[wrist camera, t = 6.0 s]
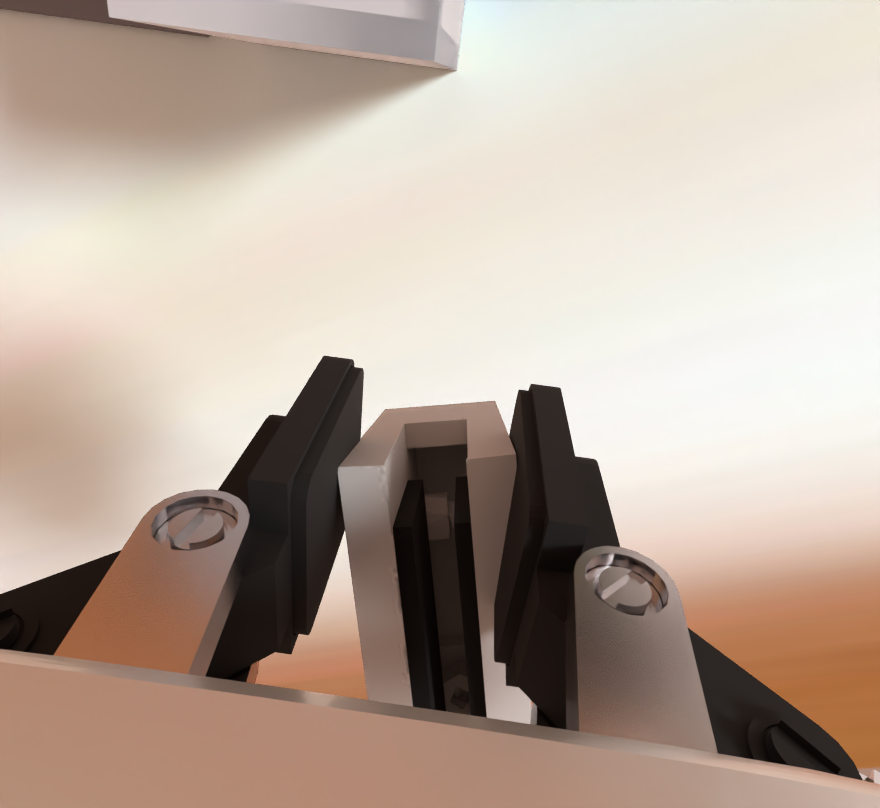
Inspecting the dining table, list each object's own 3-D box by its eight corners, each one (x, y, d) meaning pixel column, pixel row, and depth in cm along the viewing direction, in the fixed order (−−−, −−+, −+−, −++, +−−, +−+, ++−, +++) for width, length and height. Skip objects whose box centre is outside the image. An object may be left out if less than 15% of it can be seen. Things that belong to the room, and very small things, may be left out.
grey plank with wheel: (382, 392, 19) (422, 800, 21) (299, 471, 9) (389, 1210, 11) (506, 383, 19) (534, 795, 21) (554, 452, 9) (597, 1208, 11)
